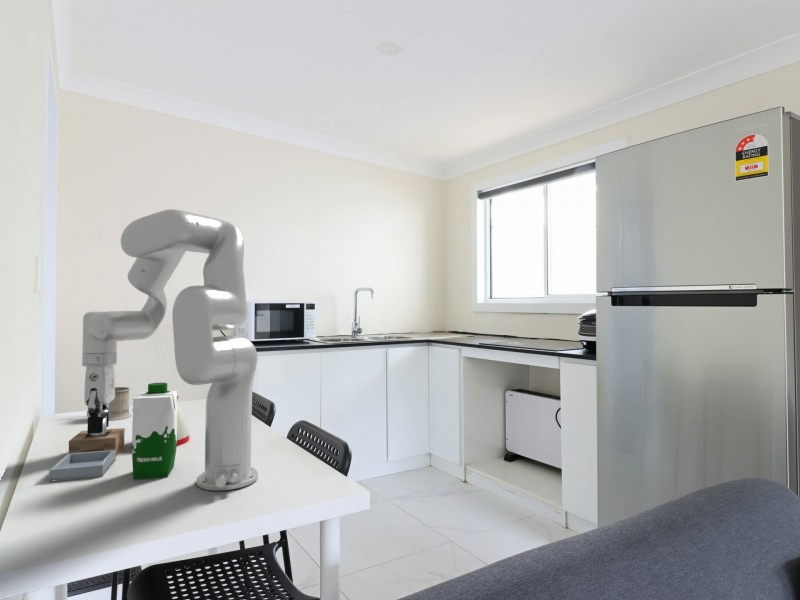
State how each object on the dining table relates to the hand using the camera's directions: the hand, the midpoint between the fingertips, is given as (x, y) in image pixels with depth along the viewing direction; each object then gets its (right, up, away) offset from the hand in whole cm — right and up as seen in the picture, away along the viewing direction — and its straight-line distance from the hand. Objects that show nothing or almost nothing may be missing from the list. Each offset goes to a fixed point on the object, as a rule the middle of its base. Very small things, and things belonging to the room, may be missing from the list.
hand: (98, 429), depth 122 cm
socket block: (0, -6, 0) cm, 6 cm away
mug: (-22, -7, +41) cm, 47 cm away
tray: (+5, -6, -12) cm, 14 cm away
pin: (0, -6, 0) cm, 6 cm away
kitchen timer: (+11, -7, +11) cm, 17 cm away
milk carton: (+22, -6, -14) cm, 26 cm away
